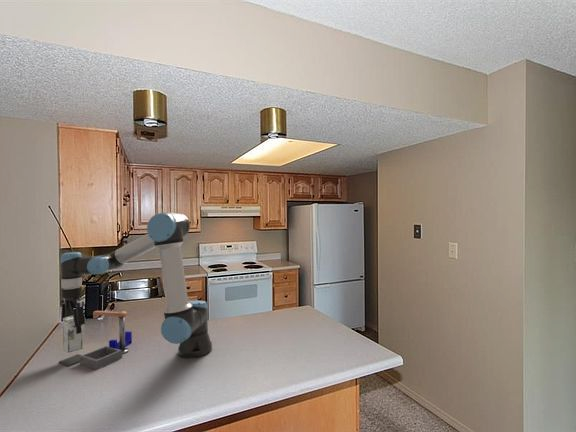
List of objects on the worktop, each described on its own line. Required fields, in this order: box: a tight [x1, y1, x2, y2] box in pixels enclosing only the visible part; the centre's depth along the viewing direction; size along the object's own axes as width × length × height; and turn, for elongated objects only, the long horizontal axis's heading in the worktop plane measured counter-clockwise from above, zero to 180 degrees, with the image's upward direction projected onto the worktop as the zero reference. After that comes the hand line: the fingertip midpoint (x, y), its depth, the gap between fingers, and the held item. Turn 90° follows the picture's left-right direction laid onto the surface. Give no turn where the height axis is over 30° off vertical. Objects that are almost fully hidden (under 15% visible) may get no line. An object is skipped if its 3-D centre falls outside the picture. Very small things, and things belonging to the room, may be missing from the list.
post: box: [118, 316, 130, 355], centre depth 146 cm, size 5×5×17 cm
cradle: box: [79, 345, 123, 370], centre depth 137 cm, size 12×12×4 cm
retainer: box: [92, 310, 127, 319], centre depth 147 cm, size 17×4×3 cm, turn 77°
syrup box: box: [62, 315, 83, 354], centre depth 138 cm, size 6×6×14 cm
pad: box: [58, 354, 83, 367], centre depth 138 cm, size 8×8×1 cm
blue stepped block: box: [108, 330, 133, 349], centre depth 151 cm, size 12×4×6 cm, turn 171°
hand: (73, 339), depth 138 cm, fingers closed on syrup box, 6 cm apart
